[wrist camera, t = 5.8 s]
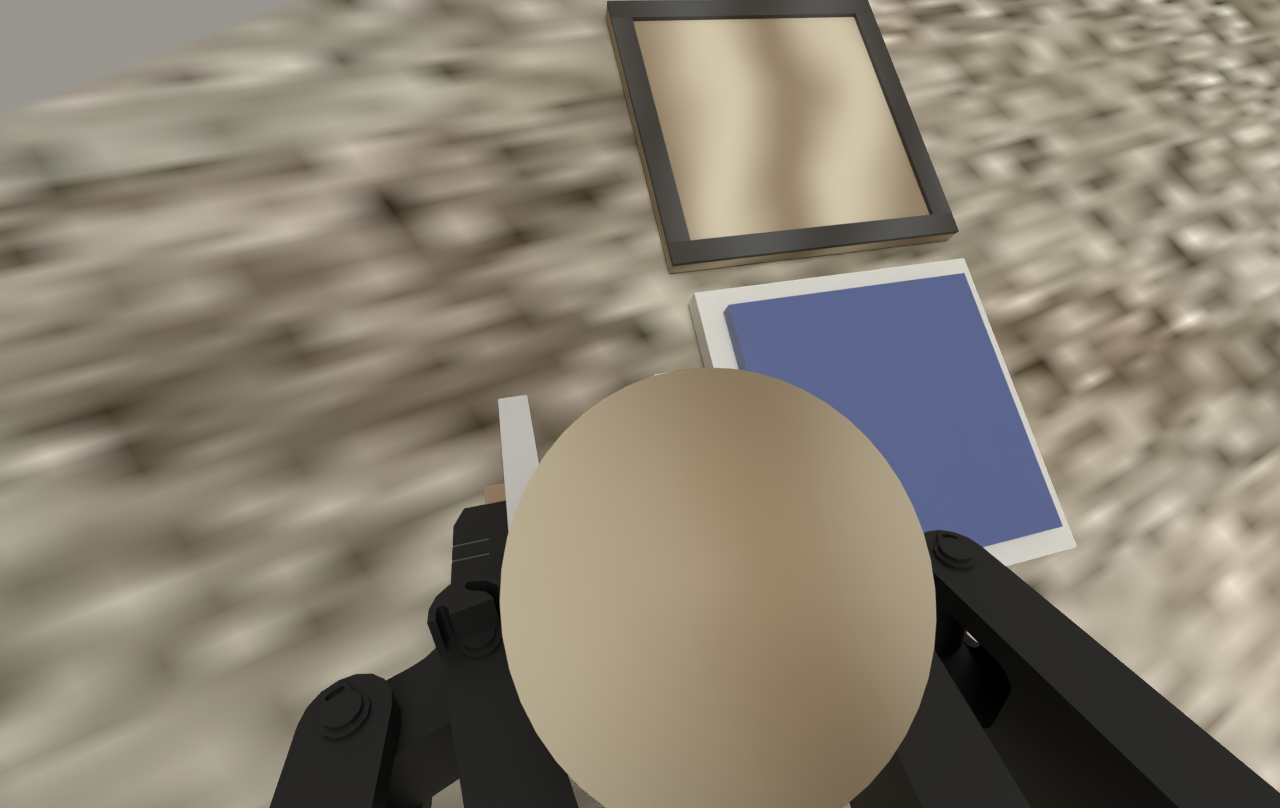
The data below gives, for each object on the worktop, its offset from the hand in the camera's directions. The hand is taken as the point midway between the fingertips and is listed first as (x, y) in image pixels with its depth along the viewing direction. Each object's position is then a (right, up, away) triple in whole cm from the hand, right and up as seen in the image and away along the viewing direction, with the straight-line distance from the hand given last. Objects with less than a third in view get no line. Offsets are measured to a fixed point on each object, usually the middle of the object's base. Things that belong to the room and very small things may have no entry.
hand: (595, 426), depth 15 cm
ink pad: (+11, 0, +7) cm, 13 cm away
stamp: (0, -5, +4) cm, 6 cm away
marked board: (+8, +14, +11) cm, 19 cm away
